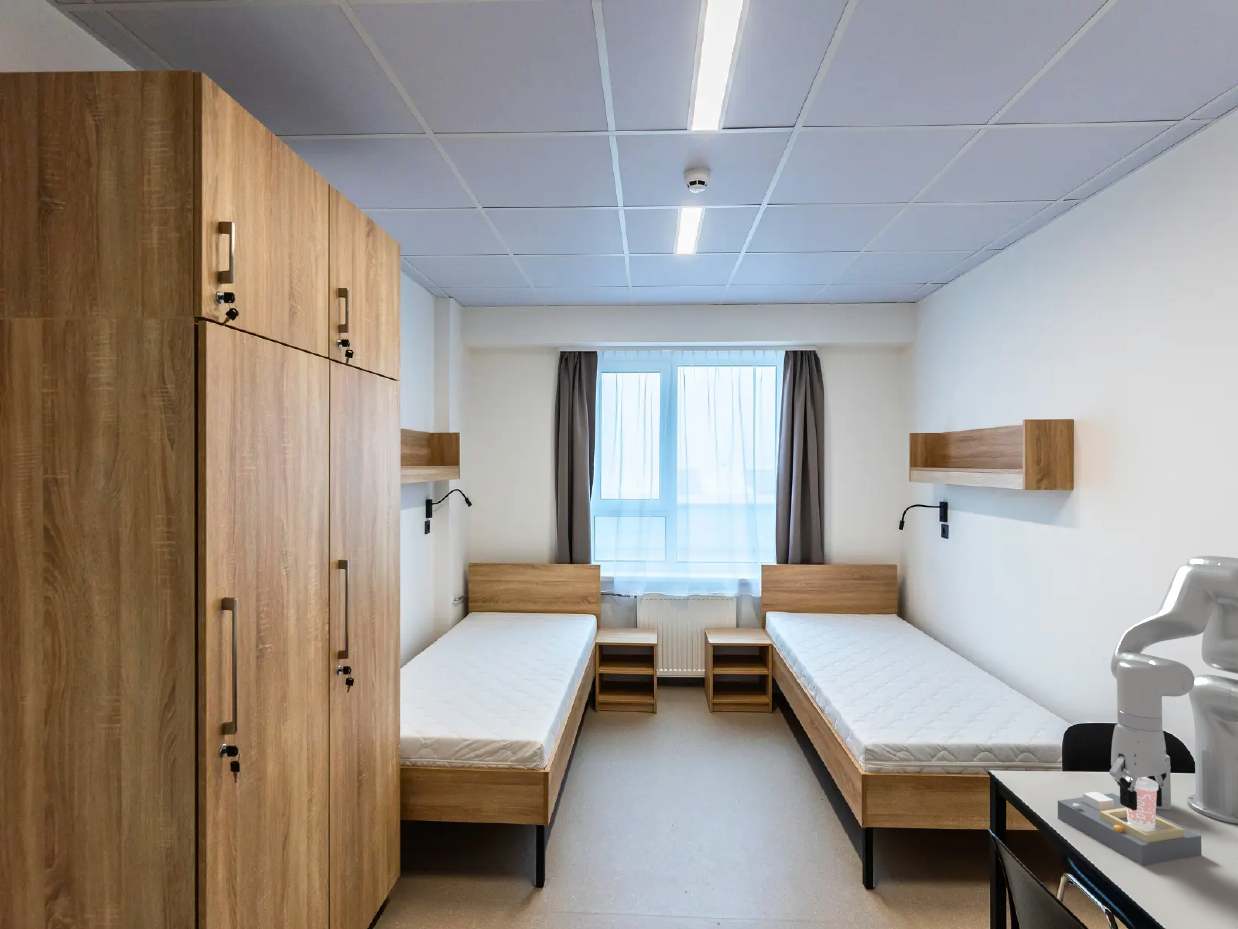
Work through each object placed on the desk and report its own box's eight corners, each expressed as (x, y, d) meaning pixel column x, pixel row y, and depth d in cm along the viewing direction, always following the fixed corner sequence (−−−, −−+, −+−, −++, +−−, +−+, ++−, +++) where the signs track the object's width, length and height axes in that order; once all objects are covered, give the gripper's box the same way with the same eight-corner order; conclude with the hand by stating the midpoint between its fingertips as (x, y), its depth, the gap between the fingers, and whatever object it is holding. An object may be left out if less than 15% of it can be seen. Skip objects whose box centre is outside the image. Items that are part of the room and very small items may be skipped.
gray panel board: (1112, 810, 154) (1112, 786, 154) (1201, 855, 135) (1201, 828, 135) (1057, 818, 150) (1057, 794, 150) (1141, 865, 131) (1141, 838, 132)
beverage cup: (1118, 821, 139) (1117, 755, 140) (1128, 813, 143) (1127, 748, 143) (1154, 834, 134) (1153, 765, 135) (1163, 824, 138) (1162, 758, 138)
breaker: (1096, 809, 150) (1096, 791, 150) (1113, 817, 146) (1113, 799, 146) (1083, 811, 149) (1082, 793, 149) (1099, 819, 145) (1099, 801, 145)
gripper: (1152, 711, 145) (1153, 793, 144) (1090, 717, 141) (1092, 801, 140) (1189, 723, 138) (1190, 809, 137) (1125, 730, 133) (1126, 819, 133)
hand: (1140, 804), depth 139 cm, fingers closed on beverage cup, 6 cm apart
